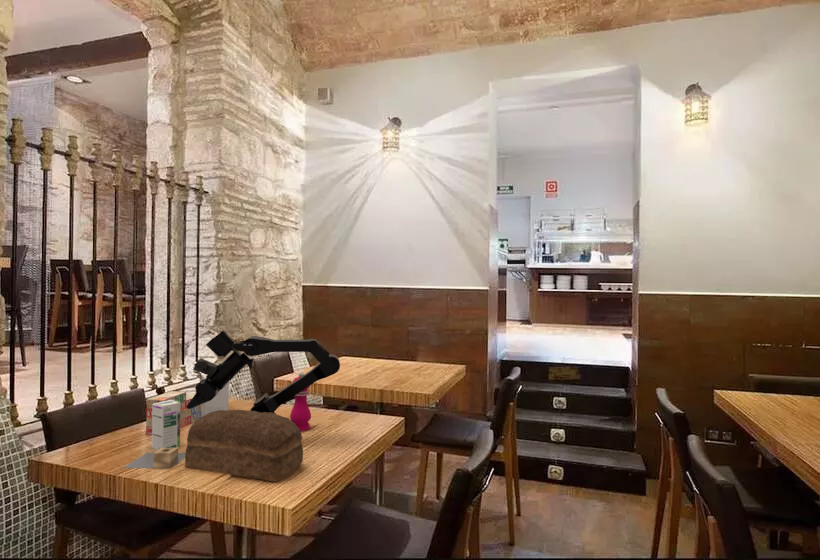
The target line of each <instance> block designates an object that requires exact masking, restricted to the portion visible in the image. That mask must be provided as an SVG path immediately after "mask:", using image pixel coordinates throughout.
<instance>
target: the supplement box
mask: <svg viewBox="0 0 820 560" xmlns="http://www.w3.org/2000/svg"><path fill="white" fill-rule="evenodd" d="M206 376H207V375H206V374H202V376H201V377H202V378H201V379H202V380H203V379H205V378H206ZM229 384H230V381H229V382H228V383H227V384H226V385H225V386H224V387H223V388H222V389H221V390H220V391H219V392H218V394H217V395H216V396H215V397H214V398H213V399H212V400H210V401H208V402H205V403H203V404H202V410H201V411H202V413H201V415H202V416H204V415H206V414H208V413H210V412H213V411H218V410H229V401H230V400H229V397H230V396H229V395H230V390H229V389H230V385H229Z"/></svg>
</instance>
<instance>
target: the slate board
mask: <svg viewBox="0 0 820 560" xmlns="http://www.w3.org/2000/svg"><path fill="white" fill-rule="evenodd" d="M153 453H154V452H146V453H144V454H142V455H141V456H139V457H137V458H136V459H134V460H132V461H131V462H129V463H127V464H126V465H124V466H123V467H122V469H154V468H153ZM185 454H186V452H178V463H176V464H175V465H174V466H172V467H171V468H157V469H159V470H160V469H161V470H162V469H167V470H168V469H169V470H171V469H173V468H174V467H175V466H176V465H178V464H179V463H180V462H182V461H183V460H184V459H185Z"/></svg>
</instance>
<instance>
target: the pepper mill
mask: <svg viewBox="0 0 820 560" xmlns="http://www.w3.org/2000/svg"><path fill="white" fill-rule="evenodd" d="M303 375H304V372H302V371H300V372H299V373H298V376H297V377H295V378H294V379H293V381H292V382H294V381H295V380H297V379H298V378H300V377H301V376H303ZM309 387H310V386H309ZM309 387H307V388H306V389H304V390H303V391H301V392H300V393H298V394H297V395H295V396H294V403H293V404H294V405H292V406H293V407H292V408H291V412H290V416H289V419H290V420H291V421H292V422H293V423H295V424H296V425H297V427H298V428H299V429H300V432H306V431H308V430H309V429H310V420H311V418H312V413H311V409H310V408H309V406H308V401H307V400H308V399H307V398H308V397H307V396H308V395H309V390H308V389H309ZM307 429H308V430H307ZM305 430H306V431H305Z"/></svg>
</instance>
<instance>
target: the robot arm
mask: <svg viewBox="0 0 820 560" xmlns="http://www.w3.org/2000/svg"><path fill="white" fill-rule="evenodd" d="M205 345H206V347H207V348H208V349H209V350H210V351H212V353H214V354H215V355H216V356H217V358H222V357H223V358H226V357H227V356H228V357H227V358H226V359H224V361H222V362H220V363H219V364H215V363H213V362H211V361H209V360H207V359H204V358H201V357H200V358H199V359H197V360H196V363H195V364H194V367H193V369H192V370H193V371H195V372H199V373H200V374H201V373H202V375H207V376H206V378H205V379H203V380H200V381H199V382H198V383H197V384H196V385H195V387H194V389H195V395H194V397H193V398H192V400H191V401H190V402H189V404H188V405H187V408H188V409H191V408H193V407H196V406H198V405H200V404H203V403H205V402H208V401H210V400H212V399H213V398H214V397H215V396H216V395H217V394H218V392H219V391H220V390H221V389H222V388H223V387H224V386H225V385H226V384H227V383H228V382H229V383H230V381H232V379H233V378H234V377H236V375H237V374H238V373H240V371H242V370H243V369H244V368H245V367H246V366H248V367H249V368H250V369H252V368H253V367H254V365H255V364H254V363H255V362H254V361H255V358H253V357H255V356H260V355H265V354H270V353H310V354H311V355H312V356H313V358H315V359H316V361H317V363H316V365H314V367H313V368H312V369H311V370H309V371H307V372H305V374H304V375H303V376H301V377H300V378H298V379H297V380H295V381H294V382H293V381H292V382H291V383H289V384H287V385H286V386H285V387H283V388H282V389H280V390H279V391H277V392H276V393H274V394H272V395H269V394H268V392H265V393H264V394H263V395H262V396H261V397H260V398H257V399H255V401H254V403H253V404H252V407H251V408H250V410H249V411H257V412H260V413H264V412H271V413H275V414H277V413H276V412H275V411H277V409H278V408H280V406H282V405H284V404H285V403H286V402H287V401H289V400H291V399H292V398H295V395H297V394H298V393H300V392H301V391H303V390H304V389H306V388H307V387H310V386H312V385H313V384H315V383H316V382H317V381H321V380H324V379H326V378H328V377H330V376H333V375H335V374H337V373H338V372H339V370H340V369H341V362H340V359H339V357H338V356H337V355H335V354H333V353H330V352H329V351H328V350H327V349H326V348H325V347H324V346H322V344H321V343H319V341H318V340H317V339H315V338H310V339H274V338H273V339H272V338H270V337H263V336H257V335H253V336H250V337H248V338H247V339H245V340H238V341H235V340H234V339H233V338H232V337H231V336H230V335H229V334H228V333H227V332H226V330H221V331H220V332H219V333H218V334H217V335H215V336H214V337H213V338H211V339H210V340H209V341H208V342H207V343H206V344H205ZM231 352H232V353H231ZM230 353H231V354H230ZM229 354H230V355H229ZM251 357H252V358H251Z"/></svg>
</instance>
